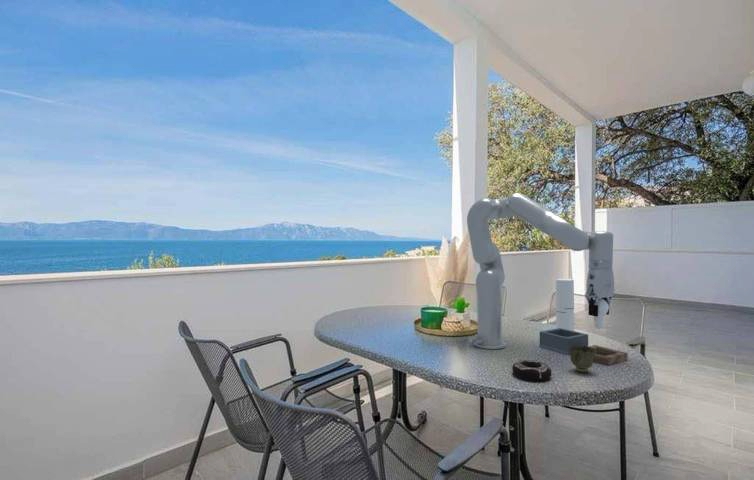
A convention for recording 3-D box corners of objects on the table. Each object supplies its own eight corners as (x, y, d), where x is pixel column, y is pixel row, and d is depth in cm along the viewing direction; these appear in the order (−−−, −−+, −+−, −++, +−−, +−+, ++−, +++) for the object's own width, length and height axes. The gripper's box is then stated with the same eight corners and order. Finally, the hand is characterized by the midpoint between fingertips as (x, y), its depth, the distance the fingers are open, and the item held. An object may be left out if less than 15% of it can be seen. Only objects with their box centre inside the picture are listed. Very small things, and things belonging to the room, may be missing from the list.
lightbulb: (601, 331, 138) (602, 300, 138) (585, 327, 144) (586, 297, 143) (611, 329, 141) (612, 299, 141) (595, 325, 146) (596, 296, 146)
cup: (564, 368, 132) (564, 344, 132) (585, 367, 132) (585, 344, 132) (578, 376, 124) (577, 351, 124) (600, 375, 125) (599, 350, 125)
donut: (511, 380, 122) (511, 367, 122) (513, 368, 133) (513, 356, 133) (551, 385, 118) (551, 372, 117) (551, 372, 128) (551, 360, 128)
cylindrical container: (575, 337, 170) (575, 280, 170) (558, 337, 172) (558, 280, 171) (571, 333, 177) (571, 278, 177) (554, 333, 179) (554, 278, 178)
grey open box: (568, 354, 147) (568, 338, 147) (539, 346, 157) (539, 331, 157) (588, 349, 153) (588, 334, 153) (559, 342, 164) (559, 327, 164)
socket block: (608, 365, 134) (608, 358, 134) (575, 356, 144) (575, 349, 144) (627, 360, 140) (627, 353, 140) (594, 351, 150) (594, 345, 150)
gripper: (596, 267, 134) (594, 319, 135) (624, 265, 143) (622, 314, 143) (575, 265, 141) (574, 315, 141) (604, 263, 149) (602, 310, 150)
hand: (598, 314), depth 142 cm, fingers closed on lightbulb, 6 cm apart
